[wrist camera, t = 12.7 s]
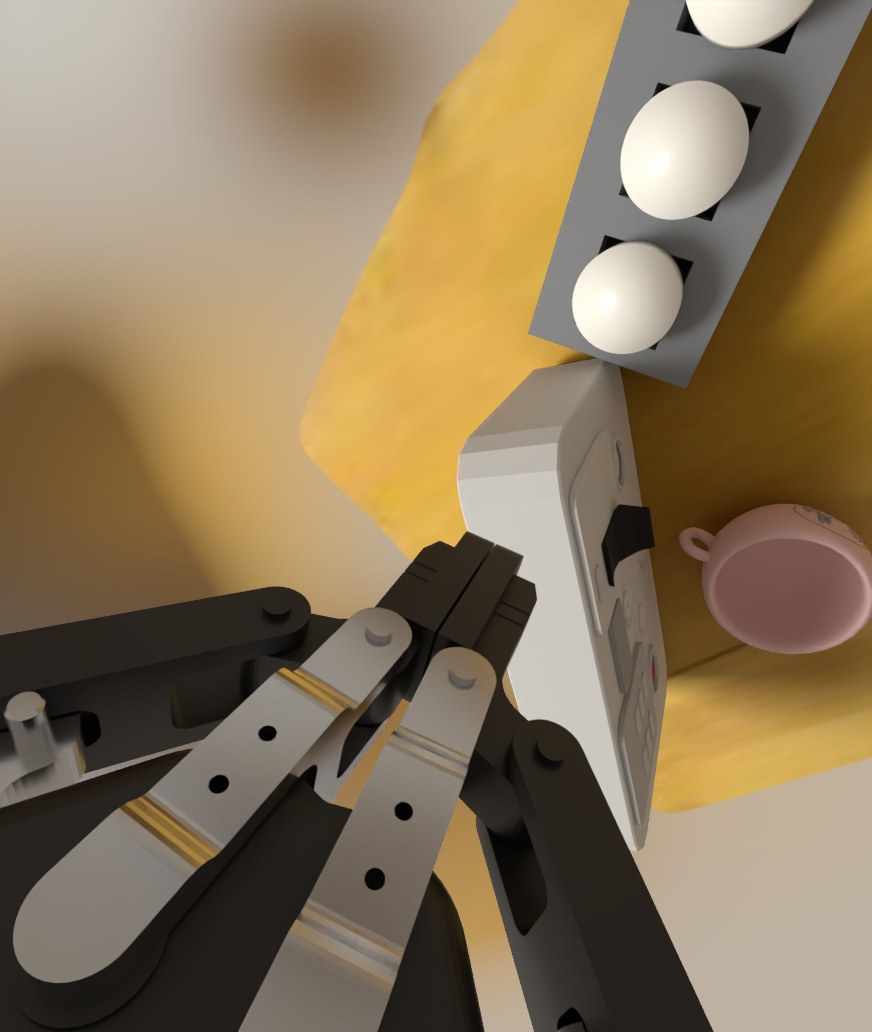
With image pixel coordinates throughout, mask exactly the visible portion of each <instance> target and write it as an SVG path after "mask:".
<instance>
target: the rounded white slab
mask: <svg viewBox="0 0 872 1032" xmlns="http://www.w3.org/2000/svg"><path fill="white" fill-rule="evenodd" d="M457 486H458V493H459V499H460V506H461V510H462V513H463V517H464V520H465V524H466V527H467V531H469V532H471V533H473V534H475V535H478V536H480V537H482V538H484V539H487V540H489V541H491V542H493V543H495V544H494V546H495V545H496V544H498V545H500V546H503V547H505V548H507V549H509V550H512V551H514V552H516V553H518V554H521V555H523V556H524V557H523V560H522V563H521V566H520V568H519V571H518V573H517V576H519V577H521V578H523V579H526V580H528V581H530V582H532V583H534V584H535V587H536V594H537V602H536V604H535V607H534V609H533V611H532V614H531V616H530V618H529V621H528V623H527V625H526V628H525V630H524V632H523V635H522V637H521V639H520V642H519V644H518V646H517V648H516V650H515V652H514V655H513V657H512V659H511V661H510V663H509V665H508V668H507V670H508V673H509V677H510V680H511V684H512V687H513V691H514V694H515V697H516V701H517V705H518V708H519V712H520V714H521V715H523V716H524V717H525V718H526V719H527V720H528V721H530V720H535V719H543V720H549V721H552V722H555V723H557V724H559V725H561V726H563V727H564V728H566V729H567V730H568V731H569V732H571V733H572V734H573V735H574V737H575V738H576V739H577V740H578V742H579V743H580V745H581V747H582V749H583V751H584V753H585V755H586V757H587V759H588V762H589V764H590V766H591V768H592V770H593V772H594V775H595V777H596V779H597V781H598V783H599V785H600V788H601V790H602V792H603V794H604V796H605V798H606V801H607V803H608V805H609V807H610V809H611V811H612V814H613V816H614V818H615V820H616V822H617V824H618V826H619V829H620V831H621V833H622V835H623V837H624V839H625V842H626V844H627V846H628V848H629V850H632V851H639V850H640V849H642V848H643V847H644V844H645V839H646V835H647V829H648V822H649V815H650V808H651V800H652V793H653V786H654V778H655V771H656V764H657V757H658V749H659V742H660V735H661V728H662V720H663V713H664V706H665V699H666V688H667V665H666V655H665V648H664V642H663V635H662V629H661V622H660V616H659V610H658V603H657V597H656V590H655V584H654V578H653V571H652V565H651V558H650V552H649V548H652V547H655V544H654V537H653V531H652V524H651V518H650V511H649V507H642V501H641V494H640V488H639V481H638V475H637V469H636V462H635V456H634V449H633V443H632V437H631V430H630V424H629V417H628V411H627V404H626V398H625V392H624V385H623V381H622V376H621V371H620V367H619V365H616V364H613V363H610V362H608V361H605V360H602V359H599V358H595V359H590V360H584V361H579V362H573V363H568V364H563V365H557V366H552V367H546V368H541V369H535V370H533V371H532V373H531V374H530V375H529V376H528V377H527V378H526V379H525V380H524V381H523V382H522V383H521V384H520V385H519V386H518V387H517V388H516V389H515V390H514V391H513V392H512V393H511V394H510V395H509V396H508V397H507V398H506V399H505V400H504V401H503V402H502V403H501V404H500V405H499V406H498V407H497V408H496V409H495V410H494V412H493V413H492V414H491V415H490V416H489V417H488V418H487V419H486V420H485V421H484V422H483V423H482V424H481V425H480V426H479V427H478V428H477V429H476V430H475V431H474V432H473V433H472V434H471V435H470V436H469V437H468V438H467V439H466V441H465V443H464V445H463V448H462V450H461V452H460V454H459V458H458V470H457Z"/></svg>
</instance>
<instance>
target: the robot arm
mask: <svg viewBox="0 0 872 1032" xmlns="http://www.w3.org/2000/svg"><path fill="white" fill-rule="evenodd" d="M494 544H495V543H493V542H491V541H489V540H487V539H484V538H482V537H480V536H478V535H475V534H473V533H471V532H469V531H467V532H466V533H465V534H464V536H463V537H462V538H461V540H460V541H459V542H458V544H457V545H456V546H455V547H452V546H450V545H448V544H446V543H444V542H441V541H439V542H436V543H434V544H432V545H430V546H427V547H425V548H423V549H422V551H421V552H420V553H419V554H418V556H417V557H416V558H415V559H414V561H413V563H411V564H410V565H409V567H408V568H407V569H406V570H405V572H404V573H403V574H402V575H401V576H400V577H399V579H398V580H397V581H396V582H395V584H394V585H393V586H392V587H391V588H390V589H389V591H388V592H387V593H386V595H385V596H384V597H383V598H382V599H381V600H380V602H379V603H378V604H377V605H376V606H375V608H367V609H363V610H360V611H359V612H357V613H355V614H354V615H353V616H351V618H349V619H336V618H331V617H326V616H321V615H316V614H311V607H310V604H309V602H308V601H307V599H306V598H305V597H304V596H303V595H302V594H300V593H299V592H297V591H295V590H292V589H290V588H285V587H267V588H261V589H256V590H250V591H244V592H239V593H234V594H228V595H222V596H217V597H211V598H206V599H200V600H194V601H189V602H183V603H177V604H172V605H166V606H161V607H155V608H150V609H144V610H139V611H133V612H128V613H123V614H116V615H111V616H105V617H100V618H94V619H89V620H83V621H78V622H73V623H66V624H61V625H55V626H50V627H44V628H38V629H33V630H28V631H22V632H16V633H11V634H5V635H0V1032H484V1027H483V1022H482V1017H481V1012H480V1007H479V1002H478V998H477V993H476V988H475V983H474V978H473V973H472V968H471V963H470V959H469V954H468V949H467V944H466V939H465V935H464V931H463V927H462V924H461V921H460V918H459V915H458V912H457V909H456V907H455V905H454V903H453V901H452V899H451V896H450V895H449V893H448V891H447V890H446V888H445V887H444V885H443V883H442V882H441V880H440V879H439V878H438V876H437V875H436V874H435V873H434V871H433V868H434V865H435V862H436V859H437V857H438V854H439V851H440V848H441V845H442V842H443V839H444V837H445V834H446V831H447V828H448V825H449V822H450V819H451V817H452V814H453V811H454V808H455V805H456V802H457V799H458V797H459V798H460V799H461V800H462V801H463V802H464V803H465V804H466V805H467V806H468V807H469V808H470V809H471V810H472V811H473V812H474V813H475V814H476V827H477V832H478V835H479V839H480V842H481V846H482V849H483V853H484V856H485V860H486V863H487V867H488V871H489V874H490V878H491V881H492V884H493V888H494V892H495V895H496V898H497V902H498V906H499V909H500V913H501V916H502V920H503V923H504V926H505V931H506V934H507V938H508V941H509V945H510V948H511V952H512V955H513V959H514V962H515V966H516V969H517V973H518V977H519V980H520V984H521V987H522V990H523V994H524V998H525V1001H526V1004H527V1008H528V1012H529V1015H530V1018H531V1022H532V1026H533V1029H534V1032H713V1030H712V1027H711V1026H710V1023H709V1021H708V1019H707V1017H706V1015H705V1013H704V1010H703V1008H702V1006H701V1004H700V1002H699V999H698V997H697V995H696V993H695V991H694V989H693V986H692V984H691V982H690V980H689V978H688V976H687V973H686V971H685V969H684V967H683V965H682V963H681V961H680V958H679V956H678V954H677V952H676V950H675V948H674V945H673V943H672V941H671V939H670V937H669V935H668V932H667V930H666V928H665V926H664V924H663V922H662V920H661V917H660V915H659V913H658V911H657V909H656V907H655V904H654V902H653V900H652V898H651V896H650V893H649V891H648V889H647V887H646V885H645V883H644V881H643V878H642V876H641V874H640V872H639V870H638V868H637V865H636V863H635V861H634V859H633V857H632V855H631V853H630V850H629V848H628V846H627V844H626V842H625V839H624V837H623V835H622V833H621V831H620V829H619V826H618V824H617V822H616V820H615V818H614V816H613V814H612V811H611V809H610V807H609V805H608V803H607V801H606V798H605V796H604V794H603V792H602V790H601V788H600V785H599V783H598V781H597V779H596V777H595V775H594V772H593V770H592V768H591V766H590V764H589V762H588V759H587V757H586V755H585V753H584V751H583V749H582V747H581V745H580V743H579V742H578V740H577V739H576V738H575V737H574V735H573V734H572V733H571V732H569V731H568V730H567V729H566V728H564V727H563V726H561V725H559V724H557V723H555V722H552V721H549V720H543V719H535V720H530V721H528V720H527V719H526V718H525V717H524V716H523V715H521V714H520V713H519V712H518V711H517V710H516V709H515V708H514V707H513V706H512V704H511V703H510V702H509V700H508V698H507V697H506V695H505V692H504V689H503V684H502V678H503V676H504V674H505V672H506V670H507V668H508V665H509V663H510V661H511V659H512V657H513V655H514V652H515V650H516V648H517V646H518V644H519V642H520V639H521V637H522V635H523V632H524V630H525V628H526V625H527V623H528V621H529V618H530V616H531V614H532V611H533V609H534V607H535V604H536V602H537V594H536V587H535V584H534V583H532V582H530V581H528V580H526V579H523V578H521V577H519V576H517V573H518V571H519V568H520V566H521V563H522V560H523V557H524V556H523V555H521V554H518V553H516V552H514V551H512V550H509V549H507V548H505V547H503V546H500V545H498V544H496V545H495V546H494ZM402 698H403V699H405V700H407V701H409V702H411V703H410V705H409V707H408V709H407V711H406V713H405V715H404V717H403V719H402V721H401V723H400V725H399V727H398V729H397V731H396V732H395V731H394V732H393V733H392V734H391V736H390V737H389V739H388V741H387V743H386V745H385V747H384V749H383V751H382V753H381V755H380V757H379V759H378V761H377V763H376V765H375V767H374V769H373V771H372V773H371V775H370V777H369V779H368V781H367V783H366V785H365V787H364V789H363V791H362V793H361V795H360V797H359V799H358V801H357V803H356V805H355V807H354V809H353V810H352V809H349V808H345V807H341V806H338V805H334V804H331V803H332V801H333V799H334V797H335V796H336V794H337V792H338V791H339V789H340V788H341V786H342V785H343V783H344V782H345V781H346V779H347V778H348V777H349V775H350V774H351V773H352V771H353V770H354V769H355V768H356V766H357V765H358V764H359V762H360V761H361V760H362V758H363V757H364V756H365V754H366V753H367V752H368V750H369V749H370V748H371V746H372V745H373V744H374V742H375V741H376V740H377V738H378V737H379V736H380V734H381V733H382V732H383V730H384V729H385V728H386V726H387V725H388V722H389V720H390V716H391V715H392V714H393V712H394V711H395V709H396V707H397V706H398V704H399V703H400V701H401V700H402ZM202 739H204V740H203V741H202V742H201V743H199V744H198V745H197V746H196V747H195V748H194V749H187V750H182V751H177V752H173V753H170V754H166V755H163V756H160V757H157V758H154V759H151V760H148V761H144V762H141V763H138V764H135V765H133V766H129V767H126V768H123V769H120V770H116V771H113V772H110V773H107V774H104V775H101V776H98V777H95V778H92V779H89V780H86V781H82V782H79V783H77V782H78V781H79V780H80V779H81V777H82V775H83V774H84V773H88V772H91V771H94V770H98V769H101V768H105V767H108V766H112V765H115V764H119V763H122V762H126V761H129V760H133V759H136V758H140V757H143V756H147V755H150V754H154V753H157V752H160V751H164V750H167V749H171V748H175V747H178V746H182V745H185V744H189V743H192V742H195V741H198V740H202Z"/></svg>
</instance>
